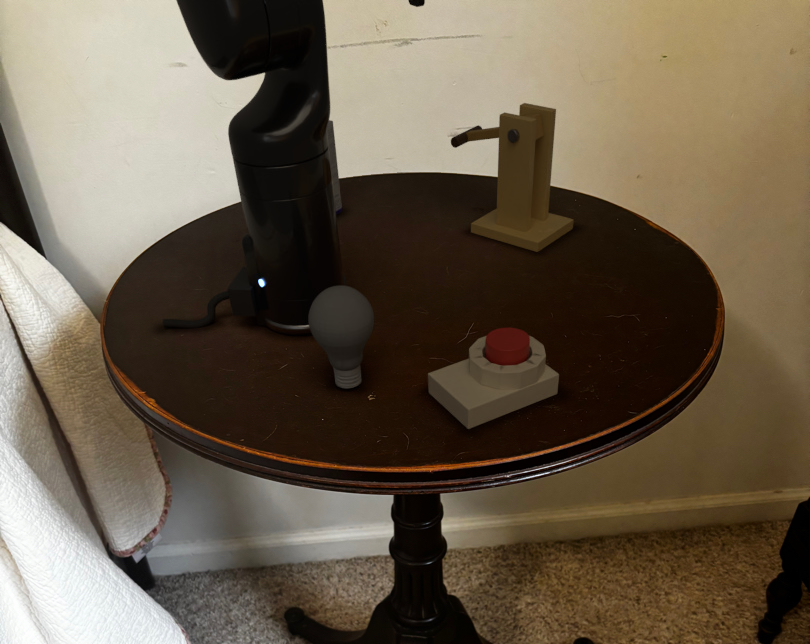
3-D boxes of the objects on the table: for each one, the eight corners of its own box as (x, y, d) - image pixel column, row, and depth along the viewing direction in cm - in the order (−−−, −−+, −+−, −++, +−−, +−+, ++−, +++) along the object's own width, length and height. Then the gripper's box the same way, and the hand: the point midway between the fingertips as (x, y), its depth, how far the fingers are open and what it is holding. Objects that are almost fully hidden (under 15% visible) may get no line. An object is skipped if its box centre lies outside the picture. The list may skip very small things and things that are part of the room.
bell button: (501, 372, 72) (502, 355, 70) (476, 352, 74) (477, 335, 73) (537, 358, 73) (538, 341, 72) (512, 339, 75) (513, 322, 74)
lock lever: (452, 153, 98) (448, 132, 96) (477, 141, 100) (473, 120, 99) (526, 145, 91) (522, 122, 89) (550, 132, 93) (547, 109, 92)
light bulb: (371, 404, 75) (362, 307, 68) (310, 400, 76) (295, 304, 69) (385, 370, 79) (378, 275, 72) (327, 366, 80) (314, 272, 73)
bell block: (468, 429, 72) (468, 392, 69) (428, 392, 76) (426, 356, 73) (557, 394, 75) (561, 357, 72) (514, 360, 79) (516, 324, 77)
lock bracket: (470, 232, 101) (471, 114, 91) (507, 210, 105) (511, 95, 95) (537, 252, 96) (545, 129, 86) (572, 228, 100) (584, 109, 91)
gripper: (474, -233, 75) (472, -15, 87) (339, -223, 71) (357, 7, 83) (520, -236, 70) (512, -4, 82) (379, -224, 66) (392, 20, 78)
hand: (434, 0), depth 82 cm, fingers open, 4 cm apart
